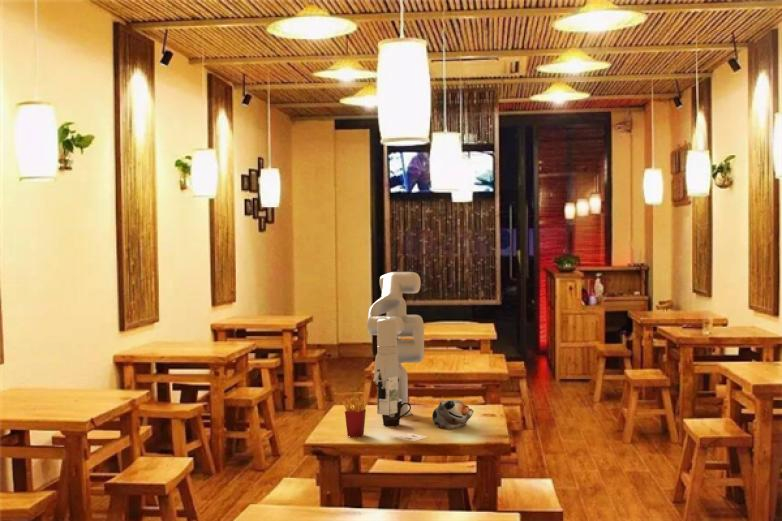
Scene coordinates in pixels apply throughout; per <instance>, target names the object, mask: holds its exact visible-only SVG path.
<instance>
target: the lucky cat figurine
mask: <svg viewBox="0 0 782 521" xmlns="http://www.w3.org/2000/svg"><path fill="white" fill-rule="evenodd" d="M473 415H474V409H472V408H470V406H469V405H466V404H464V402H462V401H461V400H459V399H447V400H446V401H445V400H443V399H441V401H440V402H439V404H438V406H437V407H436V408H435V409H433V411H432V422H433V424H434V425H435V426H438V428H439V429H443V430H444V429H445V430H453V429H454V428H458V427H461V426H464V425H467V423H468V421H469V420H470V419H471V418H472V417H473Z"/></svg>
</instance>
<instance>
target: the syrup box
mask: <svg viewBox="0 0 782 521" xmlns="http://www.w3.org/2000/svg"><path fill="white" fill-rule="evenodd" d="M378 380H379V379H378ZM381 380H382V379H381ZM381 384H382V382H381ZM384 389H386V399H379V398H378V395H377V408H376V409H377V414H378V415H381V416H382V415H392V414H396V413H398V377H397V376H394V377H389V378H387V381H386V383H385V387H384Z"/></svg>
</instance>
